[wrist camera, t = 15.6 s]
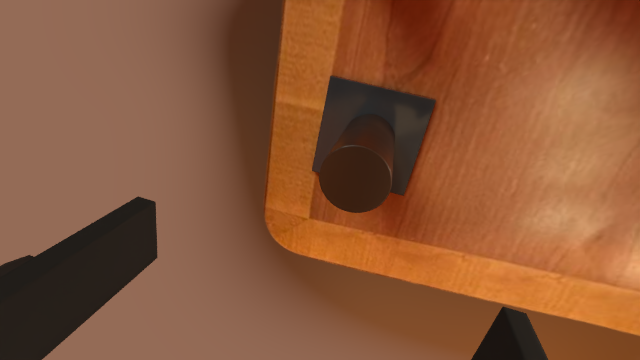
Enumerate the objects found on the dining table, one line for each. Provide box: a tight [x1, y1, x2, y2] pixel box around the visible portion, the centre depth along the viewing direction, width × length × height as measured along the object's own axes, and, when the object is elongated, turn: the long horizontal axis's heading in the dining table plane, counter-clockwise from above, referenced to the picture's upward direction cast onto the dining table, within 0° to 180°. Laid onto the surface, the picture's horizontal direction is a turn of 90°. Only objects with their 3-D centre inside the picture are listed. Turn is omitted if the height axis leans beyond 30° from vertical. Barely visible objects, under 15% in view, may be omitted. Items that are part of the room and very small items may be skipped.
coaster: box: [312, 76, 436, 196], centre depth 32 cm, size 10×10×1 cm
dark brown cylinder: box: [319, 114, 395, 213], centre depth 27 cm, size 5×5×11 cm
